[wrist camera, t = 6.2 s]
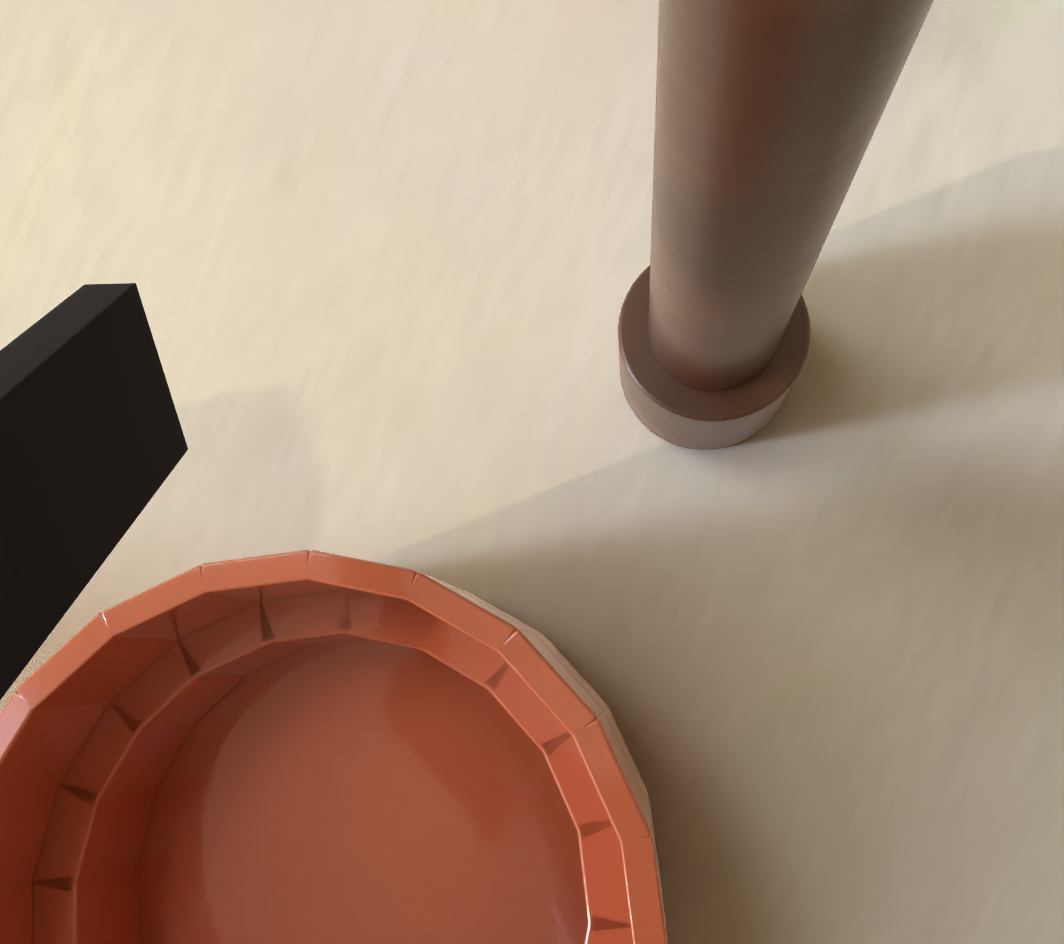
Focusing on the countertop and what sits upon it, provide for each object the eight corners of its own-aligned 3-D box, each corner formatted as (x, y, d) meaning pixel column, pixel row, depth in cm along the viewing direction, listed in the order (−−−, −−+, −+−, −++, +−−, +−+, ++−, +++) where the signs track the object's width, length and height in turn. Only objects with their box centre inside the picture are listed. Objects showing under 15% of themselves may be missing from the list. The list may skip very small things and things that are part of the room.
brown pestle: (801, 302, 24) (1091, -330, 9) (776, 463, 24) (1046, 82, 8) (636, 279, 25) (635, -349, 9) (606, 435, 24) (552, 31, 9)
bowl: (703, 637, 23) (725, 630, 17) (598, 1275, 21) (583, 1521, 15) (178, 534, 25) (38, 496, 19) (25, 1103, 23) (-189, 1257, 17)
